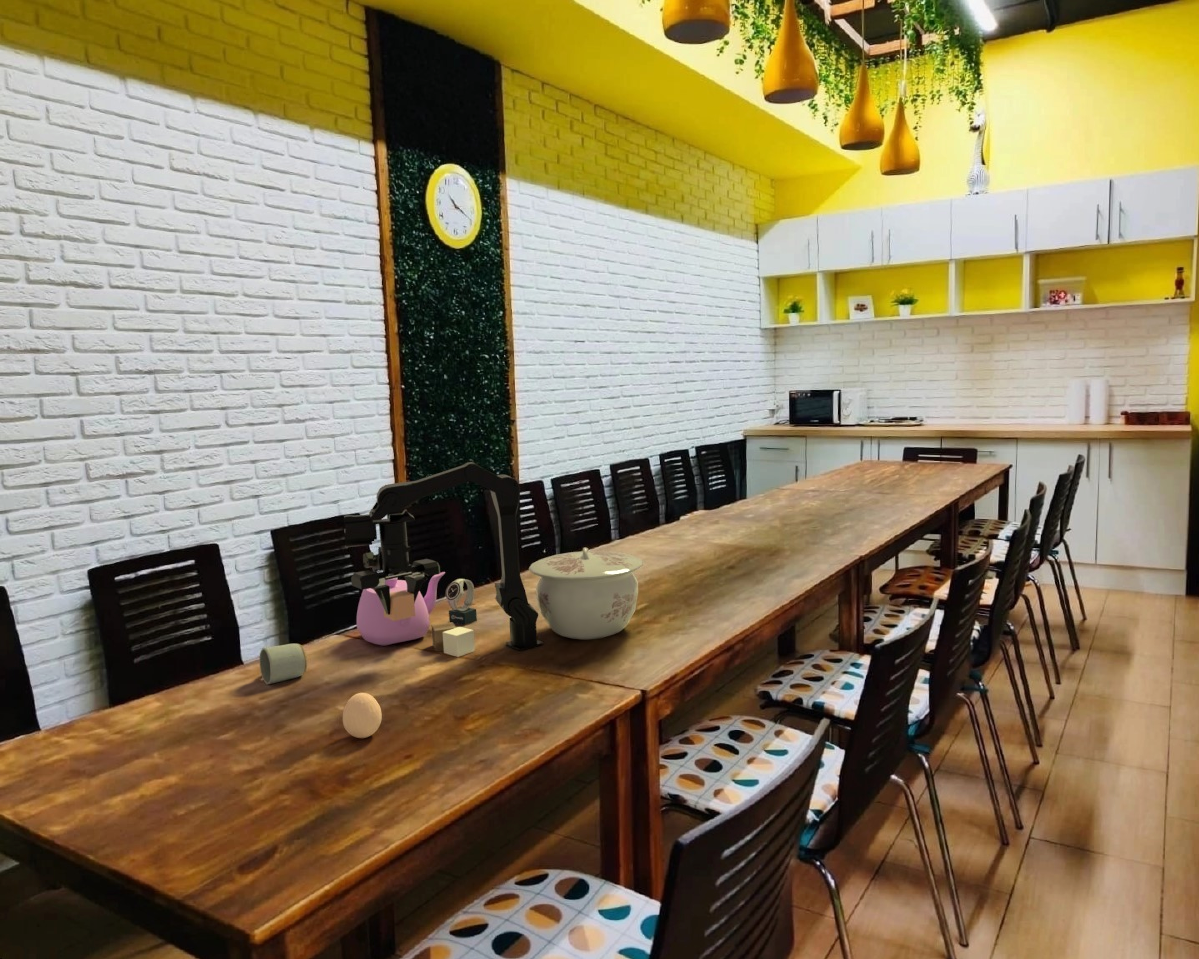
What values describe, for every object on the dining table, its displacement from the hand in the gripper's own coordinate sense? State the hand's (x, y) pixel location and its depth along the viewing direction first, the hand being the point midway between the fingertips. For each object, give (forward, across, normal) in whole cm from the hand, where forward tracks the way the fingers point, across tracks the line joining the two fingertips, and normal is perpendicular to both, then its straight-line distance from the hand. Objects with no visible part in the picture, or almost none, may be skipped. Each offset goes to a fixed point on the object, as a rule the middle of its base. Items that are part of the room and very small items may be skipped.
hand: (399, 611), depth 190 cm
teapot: (+12, -8, -19) cm, 23 cm away
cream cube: (+12, -12, +3) cm, 17 cm away
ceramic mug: (+12, +24, -10) cm, 28 cm away
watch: (+12, -26, -18) cm, 33 cm away
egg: (+12, +24, +32) cm, 42 cm away
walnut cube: (+12, -12, -3) cm, 17 cm away
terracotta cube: (+1, 0, 0) cm, 1 cm away
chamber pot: (+12, -43, +13) cm, 46 cm away
